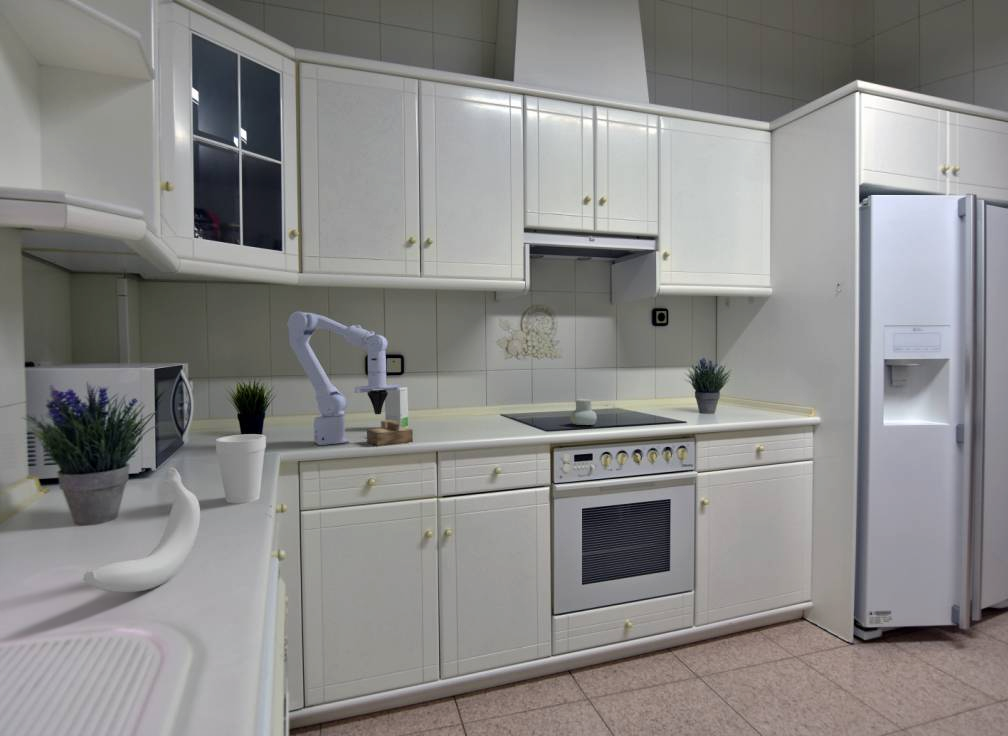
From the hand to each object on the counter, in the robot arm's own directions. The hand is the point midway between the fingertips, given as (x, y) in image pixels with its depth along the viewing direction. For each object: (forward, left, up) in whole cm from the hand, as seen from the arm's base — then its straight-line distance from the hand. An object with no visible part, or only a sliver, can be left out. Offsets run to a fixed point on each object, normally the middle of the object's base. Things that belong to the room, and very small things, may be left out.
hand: (377, 414), depth 182 cm
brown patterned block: (+7, +9, -10) cm, 15 cm away
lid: (+4, -1, -6) cm, 7 cm away
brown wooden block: (+3, -1, -9) cm, 10 cm away
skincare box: (+16, +24, -10) cm, 30 cm away
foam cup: (-47, -46, -10) cm, 67 cm away
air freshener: (+78, -11, -10) cm, 80 cm away
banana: (-65, -84, -10) cm, 106 cm away
